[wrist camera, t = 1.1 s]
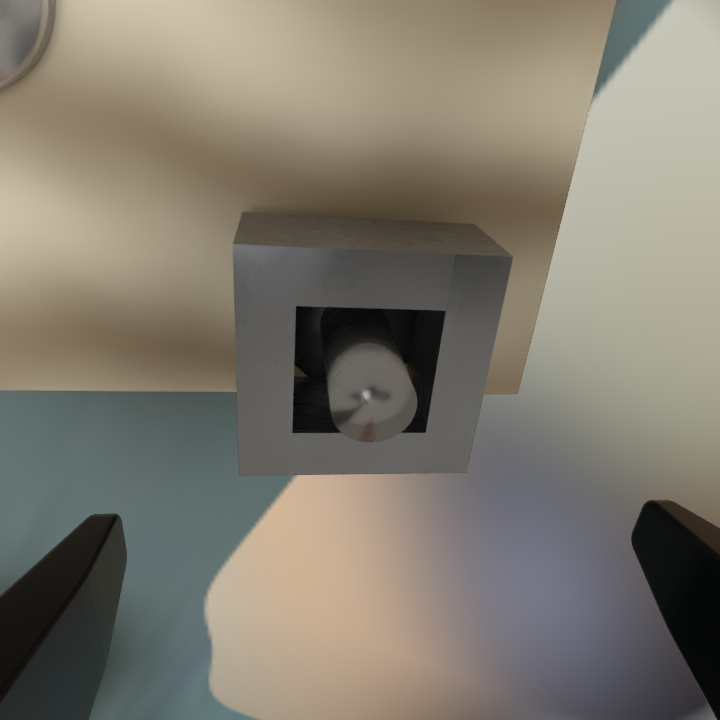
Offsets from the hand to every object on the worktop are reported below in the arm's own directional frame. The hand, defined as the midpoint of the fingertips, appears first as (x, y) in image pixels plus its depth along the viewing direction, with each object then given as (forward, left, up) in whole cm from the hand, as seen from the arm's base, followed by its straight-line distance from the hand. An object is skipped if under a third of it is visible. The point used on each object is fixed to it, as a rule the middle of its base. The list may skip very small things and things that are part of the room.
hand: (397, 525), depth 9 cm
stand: (0, 0, -10) cm, 10 cm away
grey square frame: (0, 0, -8) cm, 8 cm away
